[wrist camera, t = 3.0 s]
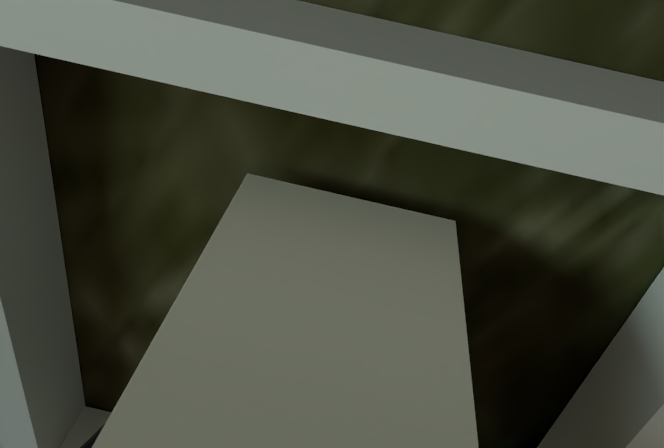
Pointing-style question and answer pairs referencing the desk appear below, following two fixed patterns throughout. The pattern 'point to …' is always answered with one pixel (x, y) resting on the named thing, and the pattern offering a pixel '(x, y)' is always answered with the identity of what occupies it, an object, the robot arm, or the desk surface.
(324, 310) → the cream rectangular block
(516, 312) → the desk surface
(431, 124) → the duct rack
